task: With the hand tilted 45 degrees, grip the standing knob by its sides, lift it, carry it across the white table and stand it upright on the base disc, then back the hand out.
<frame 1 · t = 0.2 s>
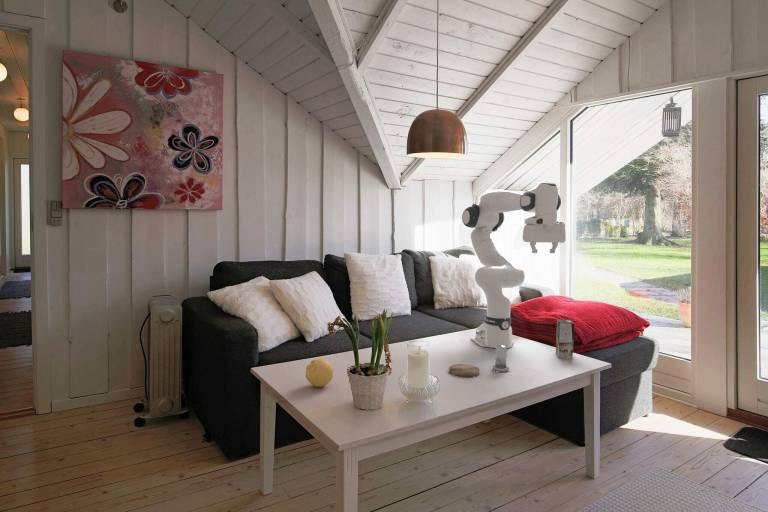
hand: (543, 253, 215), 47 cm above the table, tool pointing down, fingers open, 8 cm apart
base disc: (464, 372, 204), on the table
knob: (500, 369, 208), on the table
coffee box: (564, 356, 231), on the table
stress ball: (319, 386, 184), on the table
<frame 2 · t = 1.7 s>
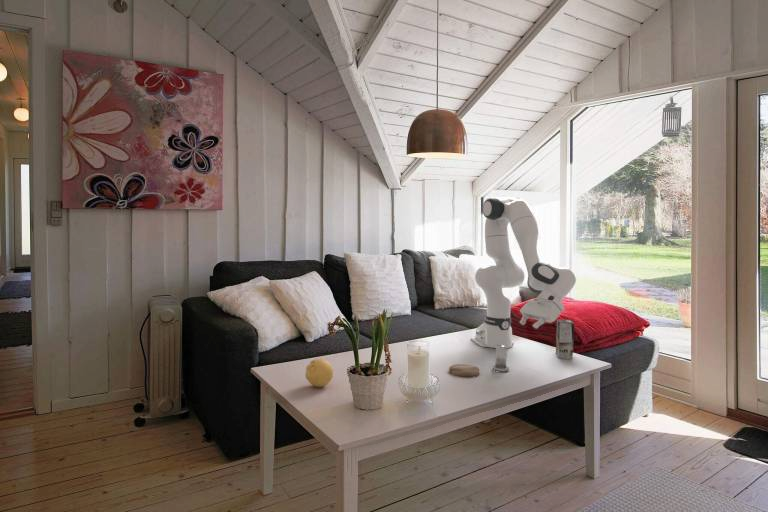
hand: (527, 325, 210), 18 cm above the table, tool tilted 45°, fingers open, 8 cm apart
nothing on the table moved.
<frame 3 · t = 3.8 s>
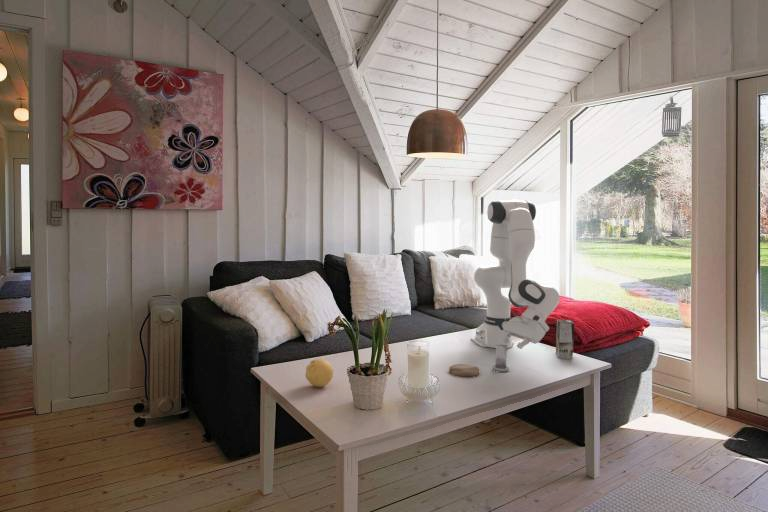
hand: (511, 344, 209), 10 cm above the table, tool tilted 45°, fingers open, 8 cm apart
nothing on the table moved.
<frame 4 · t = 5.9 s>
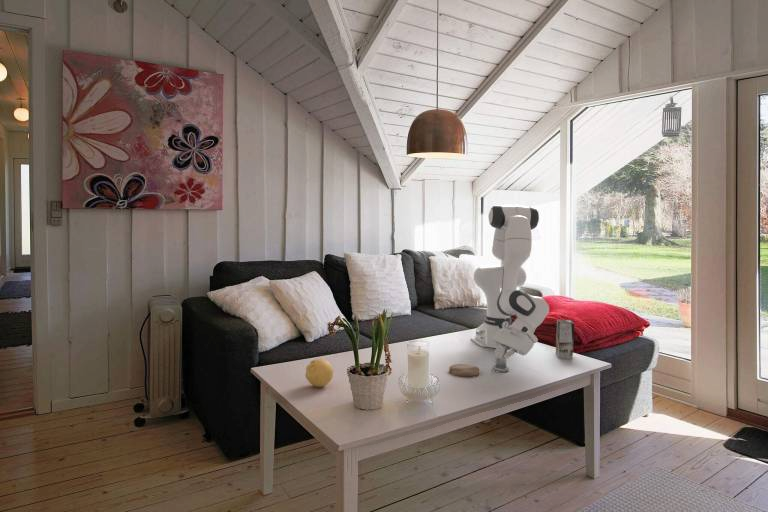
hand: (499, 355, 207), 6 cm above the table, tool tilted 45°, fingers closed on knob, 4 cm apart
knob: (500, 369, 208), on the table, touching gripper
everything else where it was.
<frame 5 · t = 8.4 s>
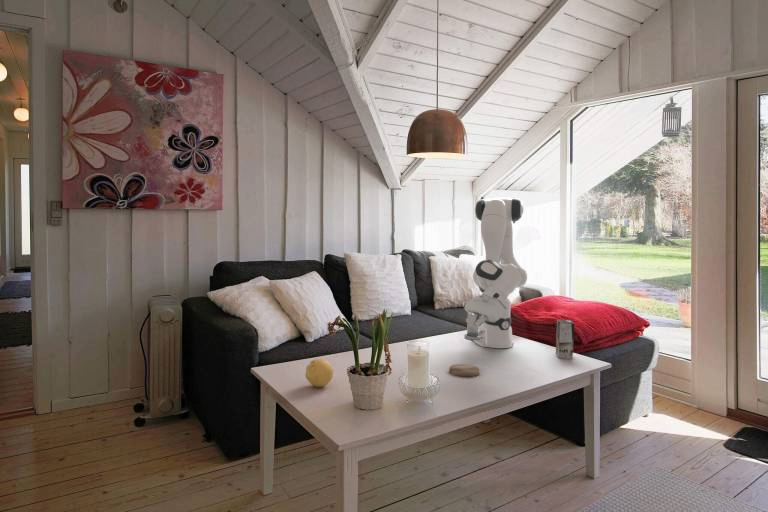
hand: (471, 323, 202), 20 cm above the table, tool tilted 45°, fingers closed on knob, 4 cm apart
knob: (472, 338, 203), point 14 cm above the table, touching gripper
everything else where it was.
when the fingers open (9 cm above the table, at t = 11.0 s): knob drops 1 cm, resting on base disc.
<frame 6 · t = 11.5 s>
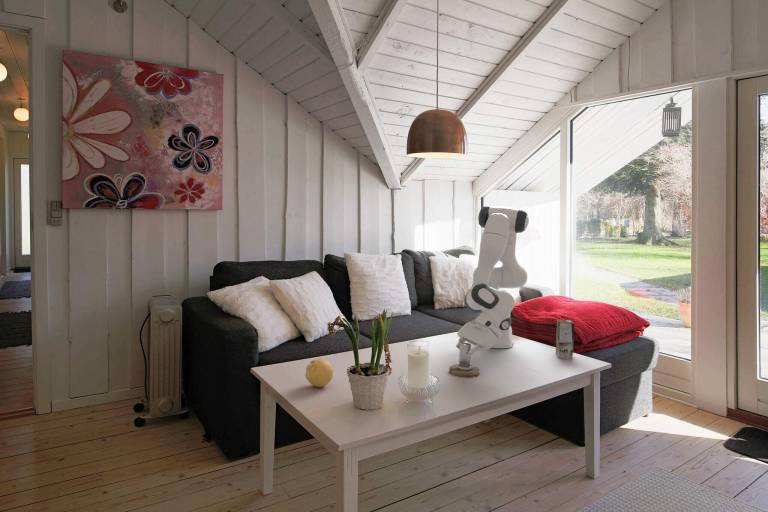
hand: (463, 350, 203), 9 cm above the table, tool tilted 45°, fingers open, 8 cm apart
knob: (464, 368, 204), point 2 cm above the table, touching base disc
everything else where it was.
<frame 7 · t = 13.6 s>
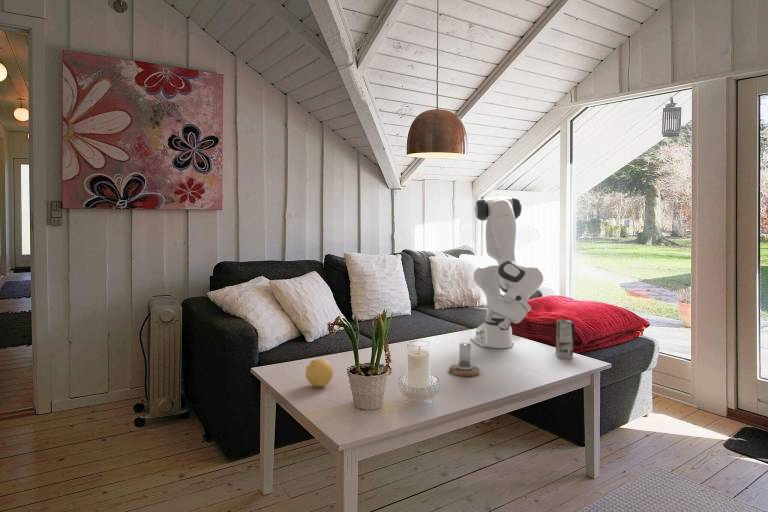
hand: (493, 323, 209), 18 cm above the table, tool tilted 45°, fingers open, 8 cm apart
nothing on the table moved.
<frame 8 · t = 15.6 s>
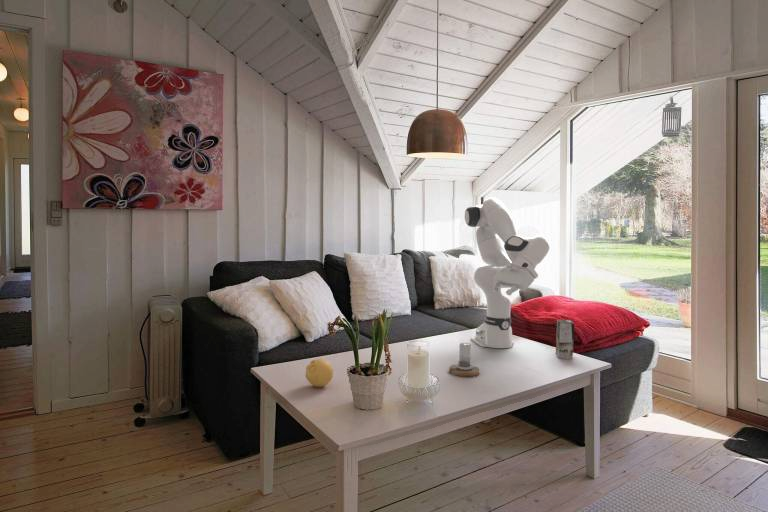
hand: (500, 292, 210), 31 cm above the table, tool tilted 45°, fingers open, 8 cm apart
nothing on the table moved.
at the end: knob 0.1 cm from the base disc (horizontally); knob tilted 0°; knob touching base disc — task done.
